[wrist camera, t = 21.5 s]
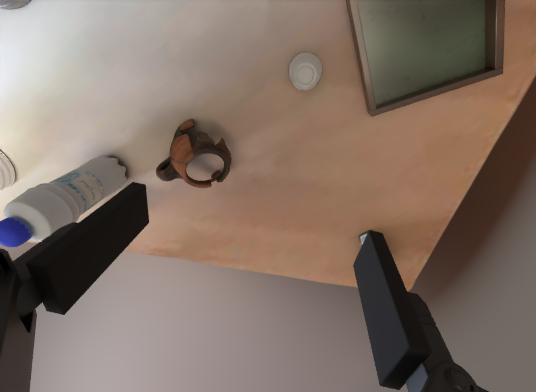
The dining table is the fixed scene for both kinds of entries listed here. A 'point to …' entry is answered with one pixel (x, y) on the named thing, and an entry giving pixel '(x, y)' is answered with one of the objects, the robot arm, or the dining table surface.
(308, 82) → the rook chess piece
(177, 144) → the broken clay pot
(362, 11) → the tray
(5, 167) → the coaster
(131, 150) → the dining table surface
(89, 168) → the bottle
